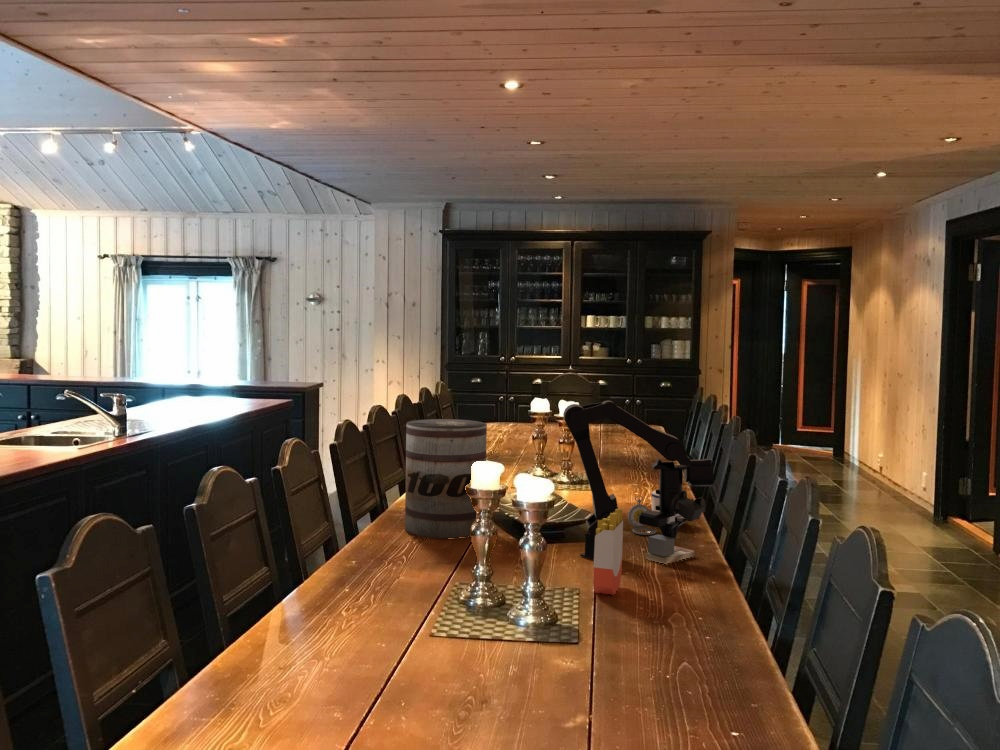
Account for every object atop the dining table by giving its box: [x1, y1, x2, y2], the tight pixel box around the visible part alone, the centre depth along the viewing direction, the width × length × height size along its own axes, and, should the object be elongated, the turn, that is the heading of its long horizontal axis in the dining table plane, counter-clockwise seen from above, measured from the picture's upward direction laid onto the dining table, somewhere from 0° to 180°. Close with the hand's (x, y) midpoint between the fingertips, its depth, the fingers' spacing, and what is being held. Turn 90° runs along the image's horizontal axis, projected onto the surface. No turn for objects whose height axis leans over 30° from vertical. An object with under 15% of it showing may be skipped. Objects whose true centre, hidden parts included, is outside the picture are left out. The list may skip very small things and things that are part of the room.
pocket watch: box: [627, 495, 657, 536], centre depth 250 cm, size 8×8×10 cm
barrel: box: [404, 418, 488, 540], centre depth 248 cm, size 22×22×30 cm
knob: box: [647, 534, 676, 557], centre depth 220 cm, size 4×5×4 cm
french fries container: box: [592, 508, 624, 596], centre depth 195 cm, size 5×11×18 cm, turn 161°
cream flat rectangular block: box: [645, 545, 695, 565], centre depth 223 cm, size 12×6×2 cm, turn 131°
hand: (670, 546), depth 223 cm, fingers closed
